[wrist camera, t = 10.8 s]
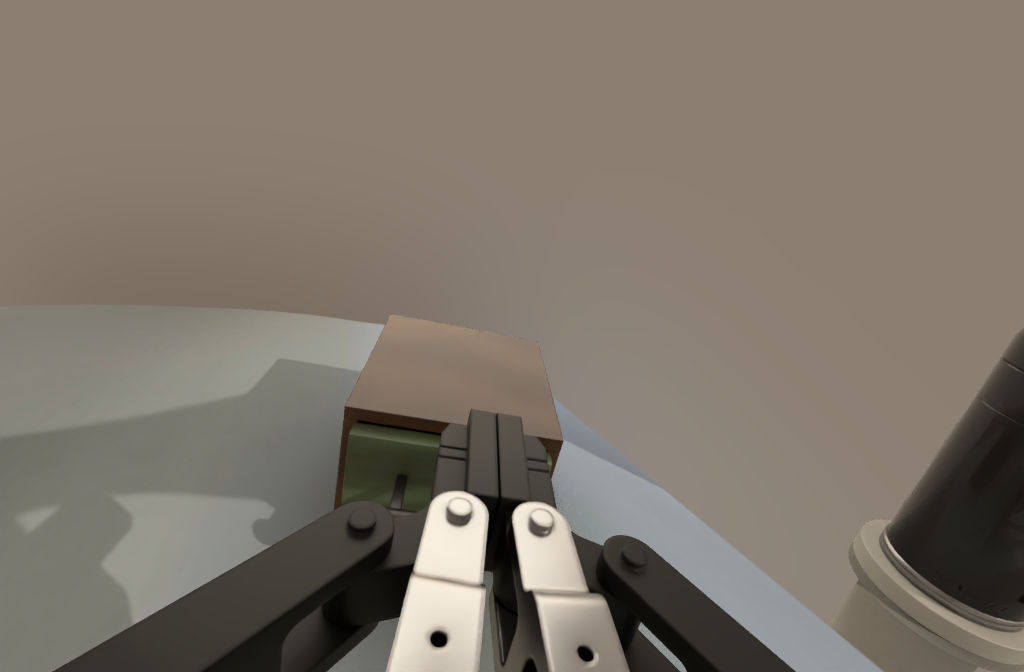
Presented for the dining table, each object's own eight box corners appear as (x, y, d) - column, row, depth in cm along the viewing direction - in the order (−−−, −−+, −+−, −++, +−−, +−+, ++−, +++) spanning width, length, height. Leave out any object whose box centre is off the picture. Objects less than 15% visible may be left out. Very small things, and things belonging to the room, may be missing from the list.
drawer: (527, 628, 27) (563, 520, 24) (313, 606, 25) (324, 488, 22) (510, 439, 43) (531, 360, 40) (380, 418, 42) (391, 335, 39)
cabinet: (526, 560, 32) (563, 441, 29) (330, 536, 31) (344, 406, 27) (513, 433, 46) (538, 341, 42) (377, 411, 44) (390, 313, 41)
